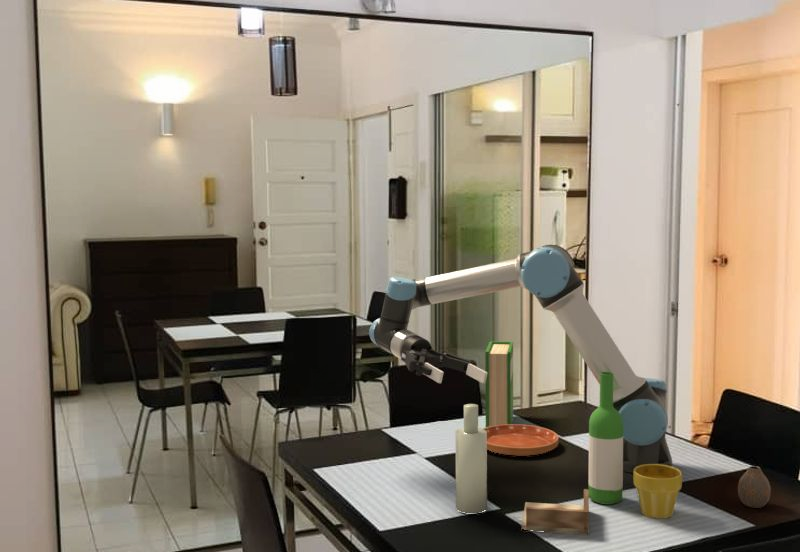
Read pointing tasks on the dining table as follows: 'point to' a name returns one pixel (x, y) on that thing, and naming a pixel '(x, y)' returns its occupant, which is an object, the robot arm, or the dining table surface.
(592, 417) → the wine bottle
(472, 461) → the bottle
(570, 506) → the dock
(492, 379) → the hardback book
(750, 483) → the vase
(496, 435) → the saucer
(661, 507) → the plant pot
